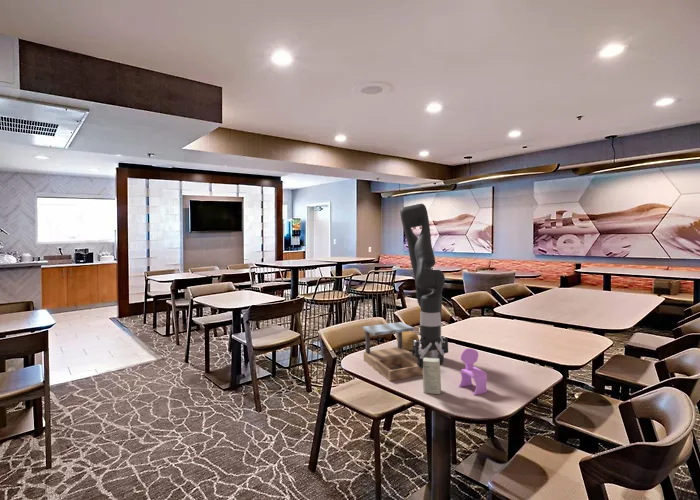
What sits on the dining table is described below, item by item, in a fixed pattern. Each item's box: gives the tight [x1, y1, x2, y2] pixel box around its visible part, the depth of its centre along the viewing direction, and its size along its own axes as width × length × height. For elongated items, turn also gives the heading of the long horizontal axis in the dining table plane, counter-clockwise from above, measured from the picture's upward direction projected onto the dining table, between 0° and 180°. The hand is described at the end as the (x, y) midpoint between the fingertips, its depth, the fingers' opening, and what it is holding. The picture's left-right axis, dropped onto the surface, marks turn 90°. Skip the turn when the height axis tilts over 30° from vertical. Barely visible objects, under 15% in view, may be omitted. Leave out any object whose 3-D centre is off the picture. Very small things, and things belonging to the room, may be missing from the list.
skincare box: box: [422, 358, 442, 395], centre depth 139 cm, size 6×4×12 cm
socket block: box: [362, 321, 423, 382], centre depth 165 cm, size 20×26×16 cm
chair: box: [458, 347, 488, 396], centre depth 140 cm, size 8×9×15 cm
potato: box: [396, 331, 420, 352], centre depth 190 cm, size 9×16×9 cm, turn 18°
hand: (430, 366), depth 139 cm, fingers open, 8 cm apart
